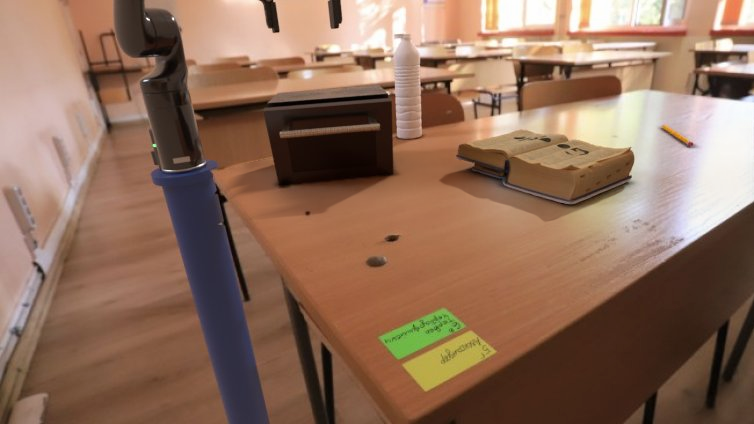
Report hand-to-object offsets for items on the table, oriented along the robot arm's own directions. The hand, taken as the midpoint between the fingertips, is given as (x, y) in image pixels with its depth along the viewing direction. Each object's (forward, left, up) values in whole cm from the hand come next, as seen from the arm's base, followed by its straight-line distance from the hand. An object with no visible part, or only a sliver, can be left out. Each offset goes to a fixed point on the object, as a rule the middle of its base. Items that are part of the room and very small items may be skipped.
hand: (306, 30), depth 59 cm
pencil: (+59, +54, -26) cm, 84 cm away
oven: (-8, +19, -26) cm, 34 cm away
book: (+32, +20, -26) cm, 46 cm away
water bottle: (-1, +46, -26) cm, 53 cm away
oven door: (-3, +10, -26) cm, 28 cm away
